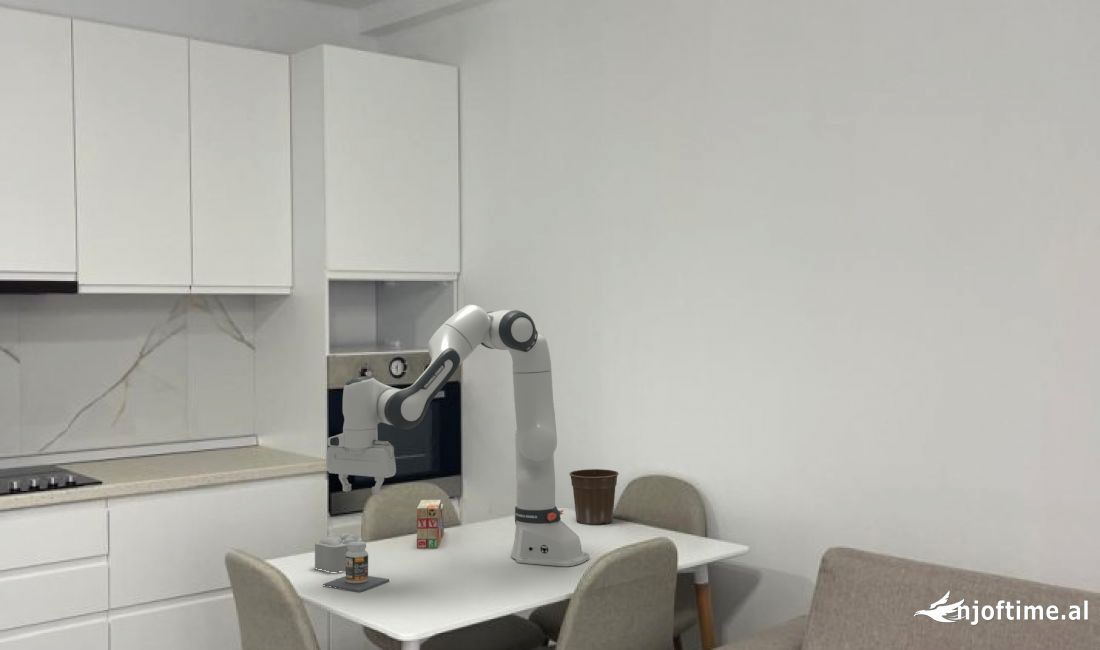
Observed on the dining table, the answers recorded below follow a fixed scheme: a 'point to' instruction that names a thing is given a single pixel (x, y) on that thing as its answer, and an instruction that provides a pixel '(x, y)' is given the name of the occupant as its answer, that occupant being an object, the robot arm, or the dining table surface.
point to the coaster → (357, 587)
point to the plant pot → (594, 495)
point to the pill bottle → (356, 563)
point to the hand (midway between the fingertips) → (361, 492)
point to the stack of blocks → (429, 523)
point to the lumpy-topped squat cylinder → (333, 552)
